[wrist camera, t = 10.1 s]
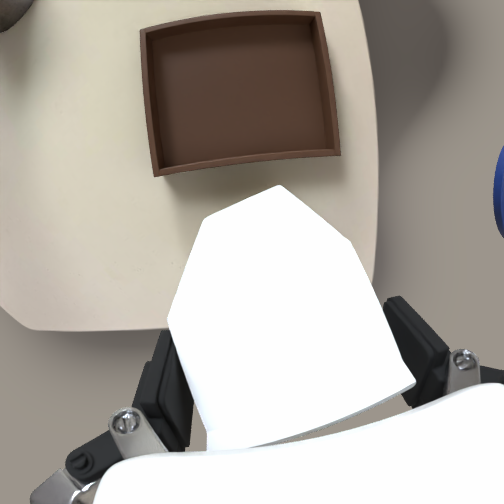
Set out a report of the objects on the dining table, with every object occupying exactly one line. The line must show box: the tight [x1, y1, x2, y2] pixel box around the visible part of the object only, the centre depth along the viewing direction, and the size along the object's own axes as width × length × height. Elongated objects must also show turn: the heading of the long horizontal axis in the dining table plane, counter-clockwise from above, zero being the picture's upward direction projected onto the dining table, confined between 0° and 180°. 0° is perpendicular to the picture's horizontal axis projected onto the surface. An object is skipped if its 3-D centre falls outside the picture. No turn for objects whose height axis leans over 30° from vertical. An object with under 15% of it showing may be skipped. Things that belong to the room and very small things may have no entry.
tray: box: [140, 10, 341, 177], centre depth 23 cm, size 17×15×3 cm
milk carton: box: [167, 185, 416, 451], centre depth 16 cm, size 7×7×19 cm
